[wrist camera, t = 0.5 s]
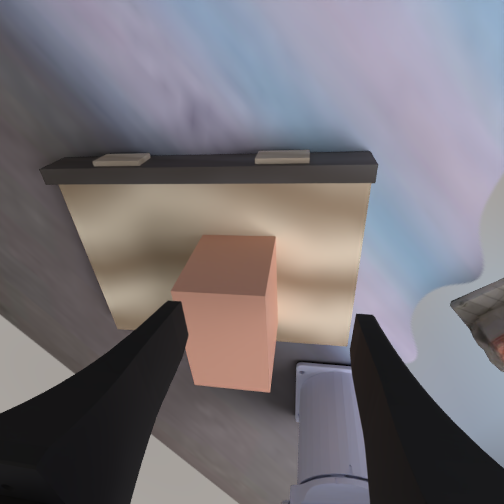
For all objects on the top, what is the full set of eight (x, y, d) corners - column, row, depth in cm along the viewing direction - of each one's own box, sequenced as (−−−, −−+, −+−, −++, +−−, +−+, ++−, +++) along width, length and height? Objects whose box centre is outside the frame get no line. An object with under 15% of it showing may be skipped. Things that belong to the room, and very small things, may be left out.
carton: (275, 236, 21) (265, 296, 16) (277, 323, 25) (269, 392, 20) (199, 234, 22) (166, 290, 17) (214, 319, 26) (191, 384, 21)
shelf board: (345, 332, 26) (348, 356, 24) (125, 317, 30) (111, 337, 28) (371, 146, 18) (379, 158, 16) (63, 153, 21) (37, 164, 19)
